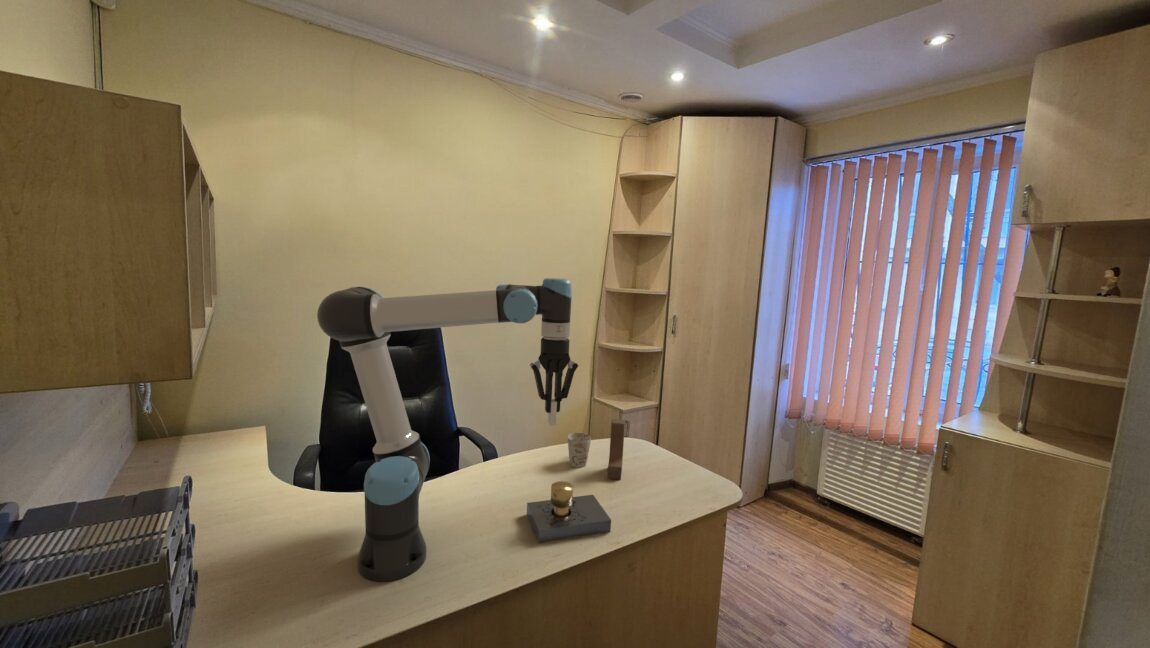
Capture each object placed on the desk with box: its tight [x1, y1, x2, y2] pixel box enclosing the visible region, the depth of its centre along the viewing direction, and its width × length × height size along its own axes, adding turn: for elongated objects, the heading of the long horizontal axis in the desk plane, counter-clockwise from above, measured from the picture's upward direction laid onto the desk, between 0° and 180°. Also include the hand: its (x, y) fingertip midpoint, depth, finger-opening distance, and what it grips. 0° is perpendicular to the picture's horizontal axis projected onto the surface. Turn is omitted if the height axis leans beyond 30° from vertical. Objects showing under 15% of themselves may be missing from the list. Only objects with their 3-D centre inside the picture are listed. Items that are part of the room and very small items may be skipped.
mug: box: [567, 432, 592, 468], centre depth 169 cm, size 8×13×10 cm, turn 171°
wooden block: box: [607, 418, 626, 480], centre depth 160 cm, size 9×4×18 cm, turn 172°
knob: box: [550, 480, 574, 518], centre depth 128 cm, size 6×6×11 cm
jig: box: [526, 494, 612, 544], centre depth 130 cm, size 20×14×4 cm
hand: (552, 423), depth 126 cm, fingers closed
